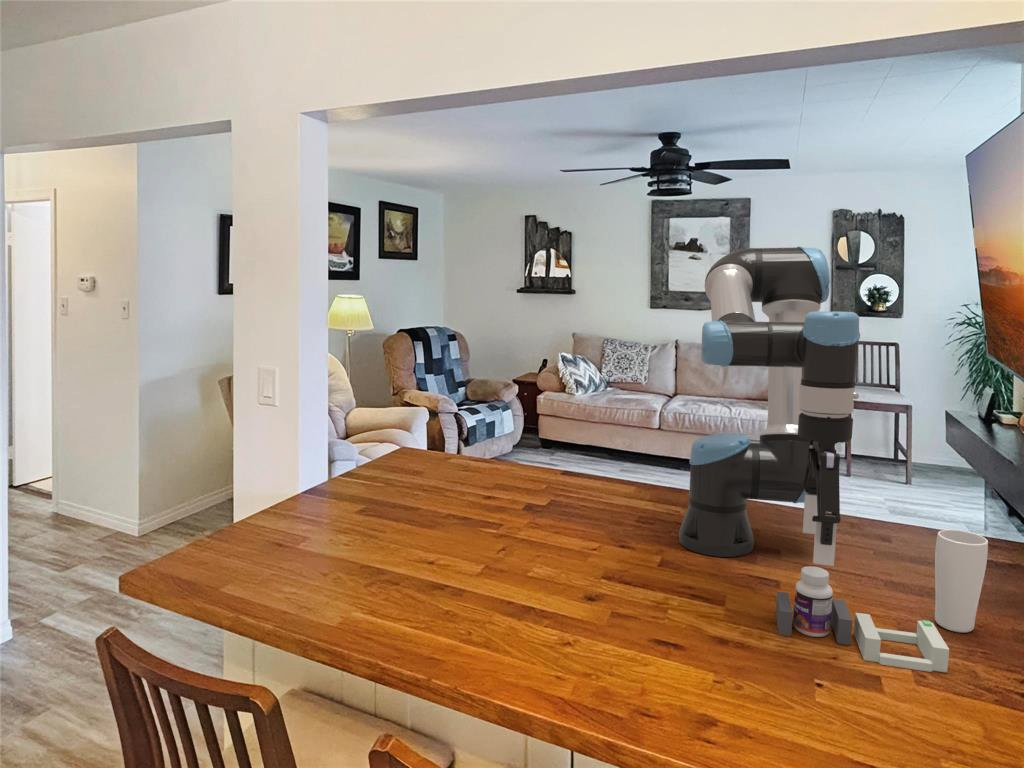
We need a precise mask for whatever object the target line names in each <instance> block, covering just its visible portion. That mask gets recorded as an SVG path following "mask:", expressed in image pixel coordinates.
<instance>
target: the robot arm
mask: <svg viewBox="0 0 1024 768" xmlns="http://www.w3.org/2000/svg"><path fill="white" fill-rule="evenodd" d="M830 278H831V277H830V268H829V264H828V260H827V256H826V254H824V252H823V251H822V250H821V249H820V248H816V247H803V246H797V247H760V248H758V247H757V248H755V247H747V248H741V249H738V250H735V251H733V252H731V253H728V254H726V255H725V256H722V257H721V258H720V259H718V260H717V261H716V262H715V263H714V264H713V265H712V266H711V267H710V269H709V270H708V272H707V274H706V276H705V280H704V291H705V294H706V297H707V298H708V300H709V301H710V310H711V311H710V312H711V321H707V322H704V323H703V325H702V331H701V345H700V346H701V349H700V351H701V357H700V358H701V361H702V362H703V363H704V364H705V365H709V366H710V365H712V366H720V367H723V368H724V367H765V368H766V367H768V377H767V378H768V382H767V383H768V385H767V386H768V387H767V388H768V389H767V427H766V428H765V429H764V430H763V431H762V432H761V433H760V434H759V442H752V441H751V439H750V437H749V435H747V434H744V433H732V432H728V433H726V432H725V433H715V434H707V435H705V436H702V437H699V438H697V439H696V440H694V442H693V443H692V444H691V453H690V459H689V464H690V471H689V472H690V474H689V492H688V493H689V494H688V496H689V497H688V506H687V510H686V512H685V515H684V517H683V520H682V522H681V525H680V527H679V534H678V537H679V538H678V541H679V543H680V545H681V546H683V547H684V548H686V549H688V550H690V551H691V552H695V553H698V554H701V555H706V556H710V557H711V556H712V557H720V558H729V557H730V558H732V557H741V556H745V555H748V554H749V553H751V552H753V550H754V543H755V542H754V540H755V539H754V538H755V537H754V534H753V530H752V527H751V523H750V520H749V517H748V514H747V503H748V502H747V500H756V501H768V502H780V503H781V502H784V503H793V504H799V503H801V504H804V505H803V506H804V507H803V521H802V533H803V534H811V535H812V534H813V535H814V540H813V541H814V543H813V555H812V557H813V558H812V562H813V564H815V565H822V566H832V567H834V566H835V557H836V556H835V555H836V540H837V539H836V538H837V528H838V527H837V525H838V524H840V523H841V513H840V512H841V511H840V510H841V506H840V505H841V502H840V460H841V456H840V455H841V454H840V453H837V449H836V447H835V446H836V444H838V443H840V444H841V443H842V444H843V443H844V444H845V443H847V442H851V440H852V437H853V427H854V426H853V425H854V418H853V417H852V415H851V414H852V413H853V412H854V409H855V408H854V407H855V404H854V403H855V402H854V400H857V399H859V397H860V395H859V393H858V392H855V390H856V381H857V380H856V379H857V378H856V377H857V366H858V354H859V353H858V351H859V341H860V339H861V332H860V317H859V315H858V314H857V313H856V312H853V311H821V304H822V303H826V302H827V300H828V298H829V295H830V282H831V279H830ZM753 303H761V312H762V314H764V315H765V316H767V318H768V321H757V320H756V316H755V312H754V306H753Z"/></svg>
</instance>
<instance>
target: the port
mask: <svg viewBox="0 0 1024 768" xmlns="http://www.w3.org/2000/svg"><path fill="white" fill-rule="evenodd" d="M916 623H917V624H916V632H909V631H902V630H894V629H888V628H887V629H886V628H880V627H876V626H875V623H874V622H873V619H872V616H871V614H869V613H861V612H855V614H854V627H853V635H854V638H855V640H856V643H857V647H858V649H859V651H860V654H861V657H862V660H863V661H867V662H874V663H879V665H882V666H888V667H889V666H890V667H896V668H902V669H908V670H915V671H922V672H929V673H932V672H933V671H934V672H939V673H948V668H949V659H950V658H949V657H950V648H949V647H948V645H947V643H946V641H944V638H943V637H942V635H941V634H940V632H939V631H938V628H937V627H936V626H935V624H934V622H931V620H925V619H922V620H917V622H916ZM882 640H884V641H890V642H897V643H898V642H899V643H905V644H913V645H917V647H918V649H919V650H920V653H921V654H922V656H923V658H920V657H914V656H906V655H898V654H893V653H885V652H881V646H882V645H881V644H882Z"/></svg>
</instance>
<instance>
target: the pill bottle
mask: <svg viewBox="0 0 1024 768" xmlns="http://www.w3.org/2000/svg"><path fill="white" fill-rule="evenodd" d="M829 581H830V573H829V572H828V571H827V570H826V569H824V568H822V567H818V566H811V565H809V566H804V567H801V570H800V579H799V580H798V581H797V582H796V584H795V589H794V606H793V607H794V608H793V617H792V626H793V627H794V629H795V630H796V631H798V632H799V633H801V634H803V635H806V636H809V637H816V638H821V637H822V638H823V637H825V636H828V635H829V634H830V633H831V626H832V624H831V612H832V599H834V598H833V595H834V594H833V593H834V591H833V588H832V587H831V585H829Z"/></svg>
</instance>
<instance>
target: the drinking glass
mask: <svg viewBox="0 0 1024 768" xmlns="http://www.w3.org/2000/svg"><path fill="white" fill-rule="evenodd" d="M988 550H989V540H988V539H987V538H986V537H984V536H982V535H980V534H977V533H975V532H972V531H971V532H970V531H965V530H961V529H942V530H939V531H937V537H936V543H935V553H934V555H935V556H934V574H935V575H934V578H935V579H934V581H935V582H934V583H935V587H934V589H935V592H934V593H935V594H934V596H935V598H934V601H935V604H934V605H935V610H934V621H935V623H936V624H938V626H940V627H942V628H944V629H946V630H948V631H950V632H955V633H963V634H964V633H970V632H971V631H973V630H974V629H975V622H976V616H977V613H978V612H977V611H978V607H979V600H980V596H981V592H982V588H983V583H984V578H985V573H986V570H987V569H986V568H987V562H988Z"/></svg>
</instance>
